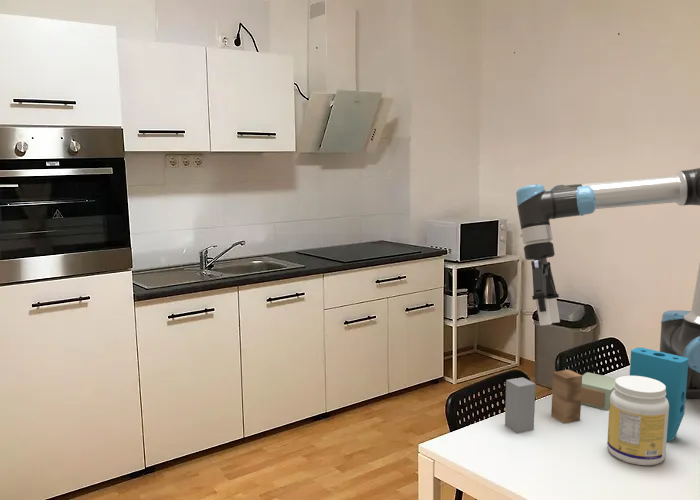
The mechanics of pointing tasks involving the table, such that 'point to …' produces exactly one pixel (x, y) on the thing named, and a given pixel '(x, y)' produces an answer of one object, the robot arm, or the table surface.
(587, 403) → the base block
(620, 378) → the supplement tub
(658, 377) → the block
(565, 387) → the walnut block
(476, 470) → the table surface
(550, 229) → the robot arm
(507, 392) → the slate block
